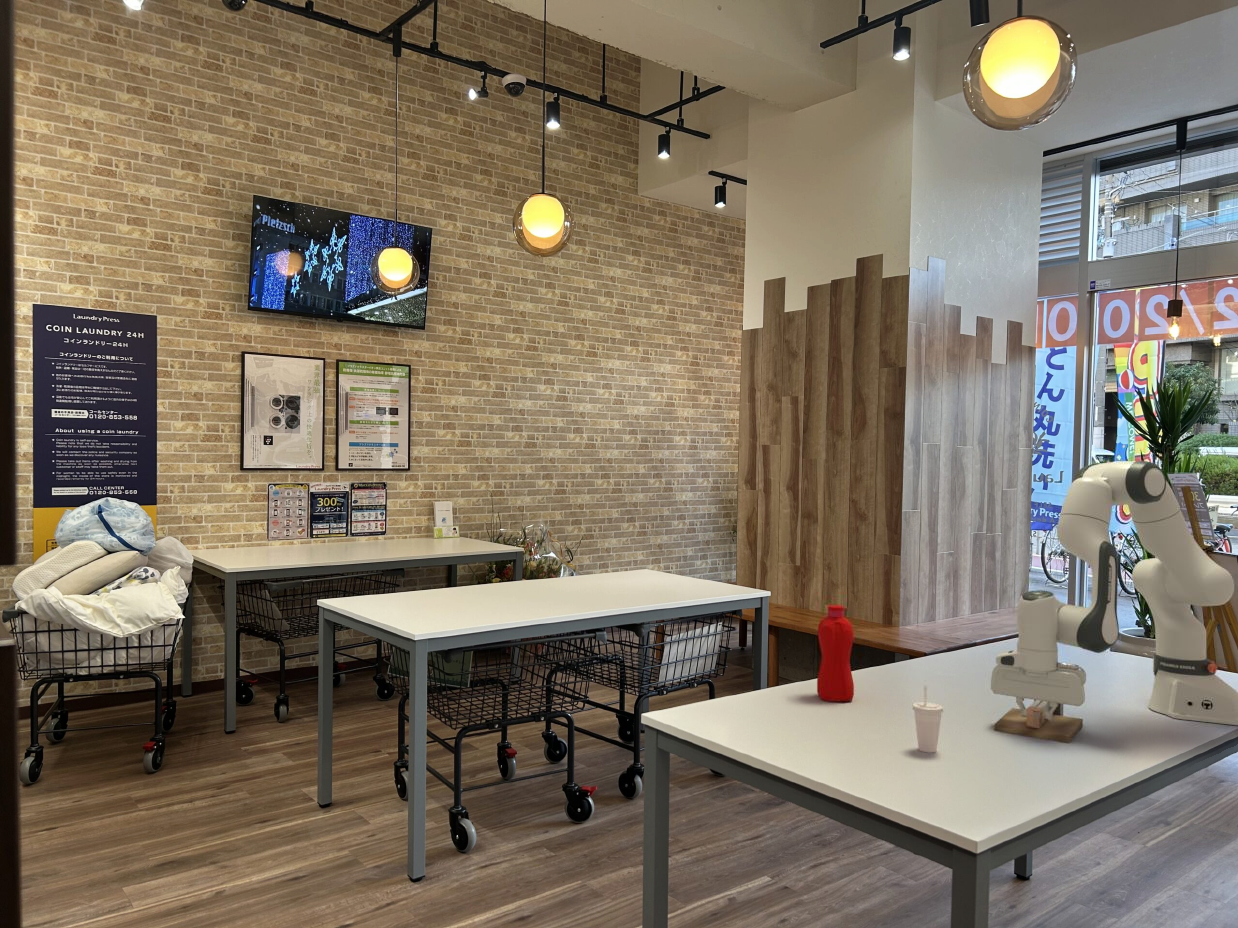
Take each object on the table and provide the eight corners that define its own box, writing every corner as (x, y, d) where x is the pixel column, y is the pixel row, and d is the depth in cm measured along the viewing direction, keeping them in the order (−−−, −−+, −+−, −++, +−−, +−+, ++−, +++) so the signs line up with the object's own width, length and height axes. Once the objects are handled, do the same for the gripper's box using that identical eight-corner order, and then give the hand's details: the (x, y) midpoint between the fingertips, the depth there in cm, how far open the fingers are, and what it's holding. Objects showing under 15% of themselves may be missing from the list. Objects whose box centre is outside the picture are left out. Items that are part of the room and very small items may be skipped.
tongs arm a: (1047, 712, 218) (1047, 696, 218) (1052, 713, 218) (1052, 696, 218) (1032, 727, 206) (1033, 709, 206) (1038, 728, 205) (1039, 710, 205)
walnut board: (1082, 724, 214) (1082, 718, 214) (1069, 742, 200) (1069, 736, 200) (1012, 713, 224) (1012, 707, 224) (994, 730, 209) (994, 723, 209)
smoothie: (918, 743, 198) (919, 681, 198) (947, 749, 194) (947, 685, 194) (907, 750, 193) (908, 686, 193) (936, 756, 189) (937, 691, 189)
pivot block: (1063, 717, 221) (1063, 690, 221) (1060, 720, 217) (1060, 694, 217) (1037, 713, 224) (1037, 687, 224) (1033, 716, 221) (1034, 690, 221)
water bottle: (848, 692, 243) (849, 602, 243) (855, 703, 232) (856, 608, 232) (814, 691, 244) (815, 601, 244) (819, 702, 233) (820, 607, 233)
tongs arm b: (1040, 711, 219) (1040, 695, 219) (1045, 712, 219) (1045, 695, 219) (1026, 726, 206) (1026, 708, 206) (1032, 727, 206) (1032, 709, 206)
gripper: (1088, 663, 206) (1087, 722, 206) (995, 652, 218) (995, 708, 218) (1083, 668, 201) (1083, 729, 200) (989, 656, 213) (988, 713, 213)
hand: (1036, 718), depth 209 cm, fingers open, 4 cm apart
